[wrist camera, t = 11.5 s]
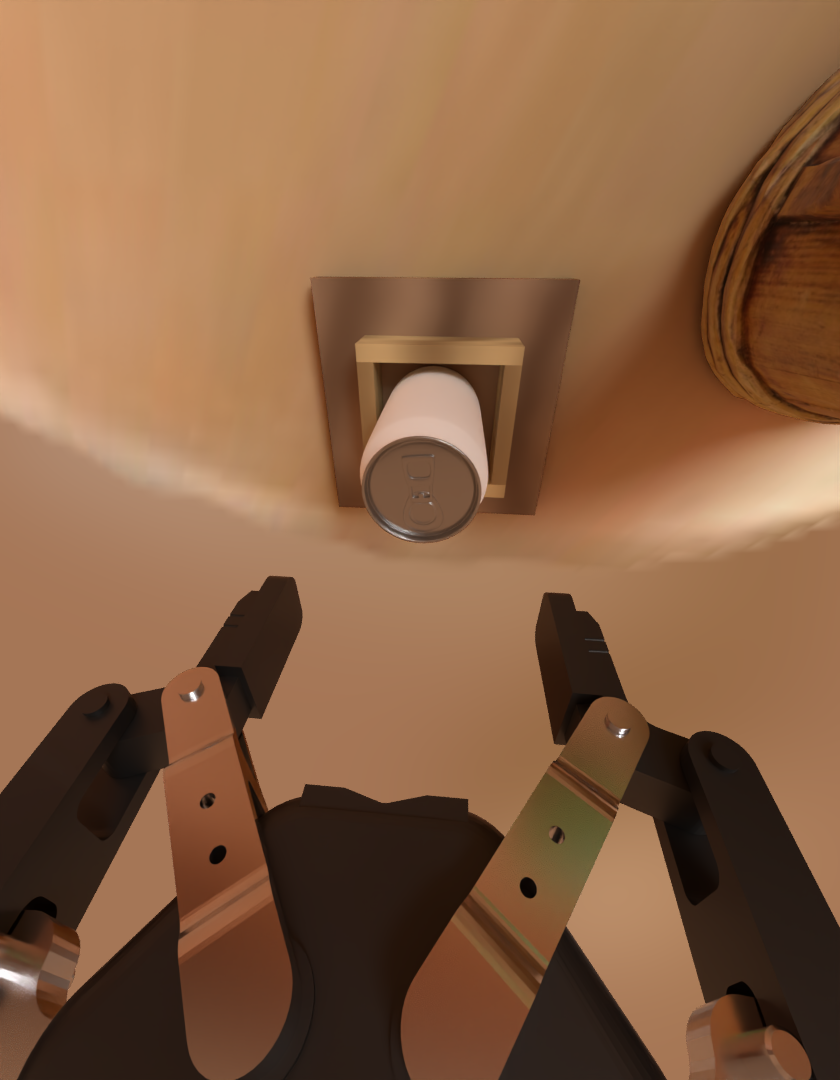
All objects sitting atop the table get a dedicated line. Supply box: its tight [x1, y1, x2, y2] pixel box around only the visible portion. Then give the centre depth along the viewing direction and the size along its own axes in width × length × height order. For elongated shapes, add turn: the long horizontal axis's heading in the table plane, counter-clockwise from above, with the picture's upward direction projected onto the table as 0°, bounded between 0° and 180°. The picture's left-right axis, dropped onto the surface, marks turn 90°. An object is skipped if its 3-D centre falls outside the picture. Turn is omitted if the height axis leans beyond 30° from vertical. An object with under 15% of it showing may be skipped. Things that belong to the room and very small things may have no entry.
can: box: [360, 366, 488, 543], centre depth 24 cm, size 6×6×12 cm
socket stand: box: [310, 277, 580, 515], centre depth 28 cm, size 16×16×4 cm
